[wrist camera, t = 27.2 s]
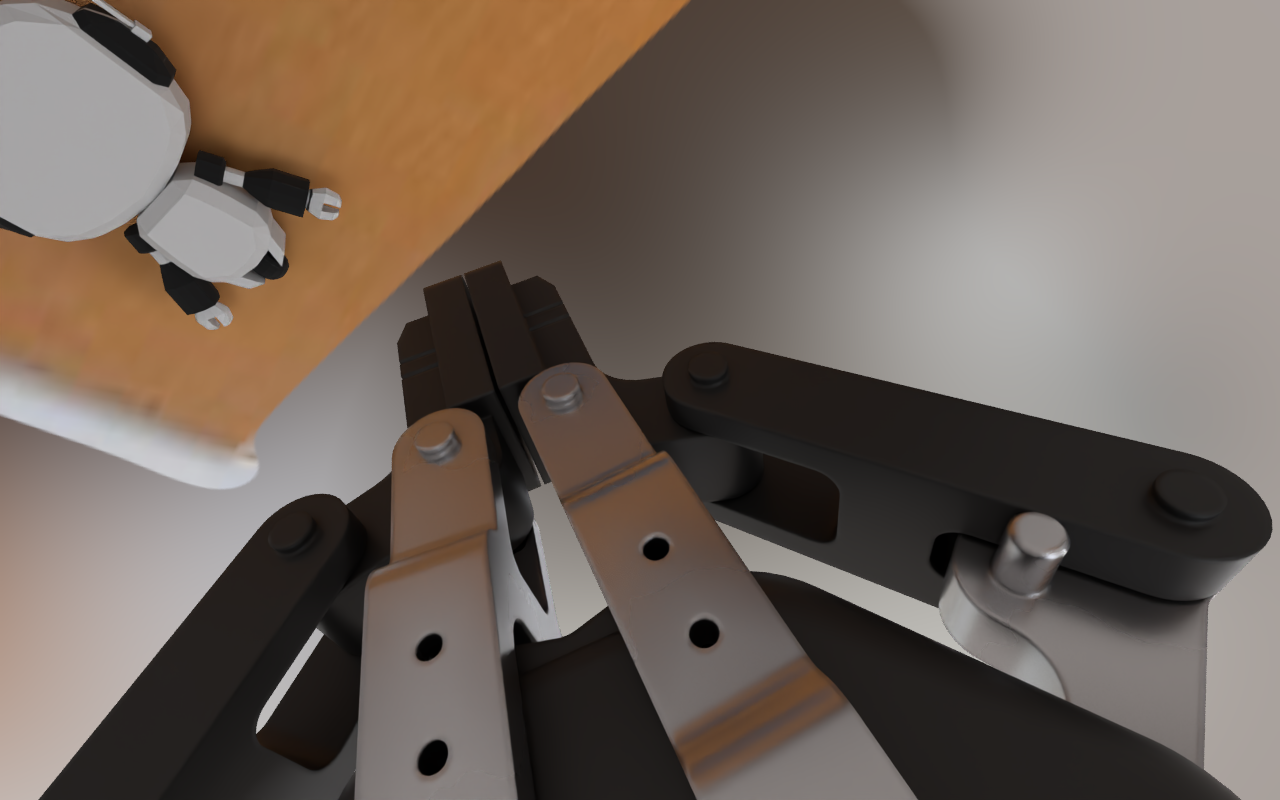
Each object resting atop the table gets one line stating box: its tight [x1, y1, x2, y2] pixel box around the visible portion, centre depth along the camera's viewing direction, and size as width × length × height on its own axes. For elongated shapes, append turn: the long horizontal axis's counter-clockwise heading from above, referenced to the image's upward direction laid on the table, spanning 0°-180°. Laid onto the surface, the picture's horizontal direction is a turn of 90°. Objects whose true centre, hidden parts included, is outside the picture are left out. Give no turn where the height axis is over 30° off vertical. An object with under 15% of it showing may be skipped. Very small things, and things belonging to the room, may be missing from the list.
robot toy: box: [0, 0, 342, 330], centre depth 30 cm, size 12×4×15 cm
